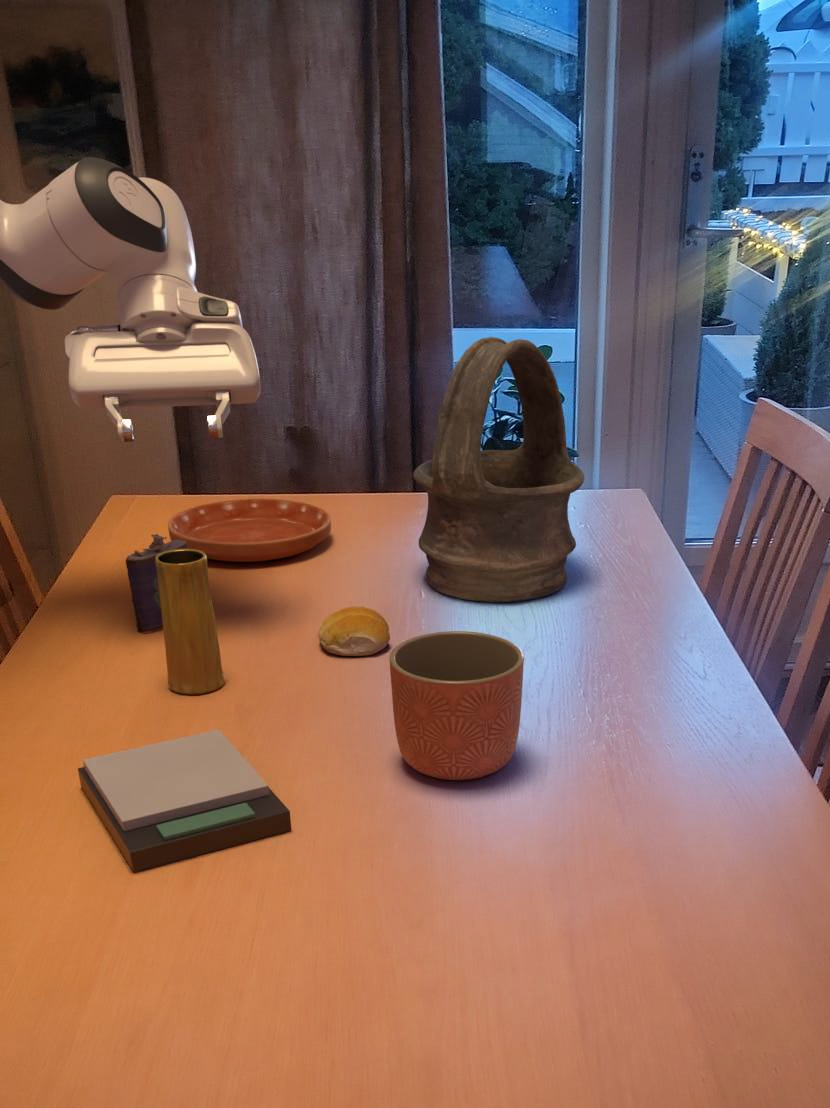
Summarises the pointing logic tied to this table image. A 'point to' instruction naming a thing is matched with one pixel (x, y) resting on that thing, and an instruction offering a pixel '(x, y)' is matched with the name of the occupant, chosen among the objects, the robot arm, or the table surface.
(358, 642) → the bread roll
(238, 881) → the table surface
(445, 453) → the clay pot
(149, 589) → the flask
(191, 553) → the vase
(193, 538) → the saucer
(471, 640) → the planter
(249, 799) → the scale
